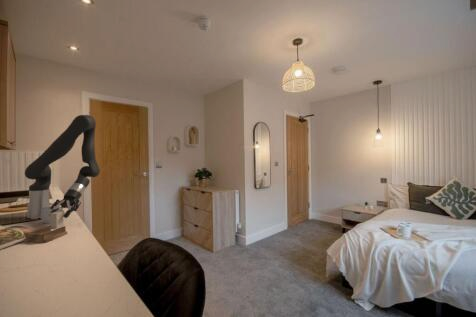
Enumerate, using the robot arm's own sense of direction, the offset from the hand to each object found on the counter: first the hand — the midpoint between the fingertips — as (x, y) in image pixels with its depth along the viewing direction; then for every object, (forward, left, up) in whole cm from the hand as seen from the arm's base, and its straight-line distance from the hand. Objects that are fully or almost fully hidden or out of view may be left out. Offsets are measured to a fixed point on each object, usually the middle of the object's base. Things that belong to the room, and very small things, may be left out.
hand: (57, 217), depth 117 cm
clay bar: (0, 0, -5) cm, 5 cm away
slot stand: (+6, -15, -5) cm, 17 cm away
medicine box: (-10, +10, -6) cm, 15 cm away
